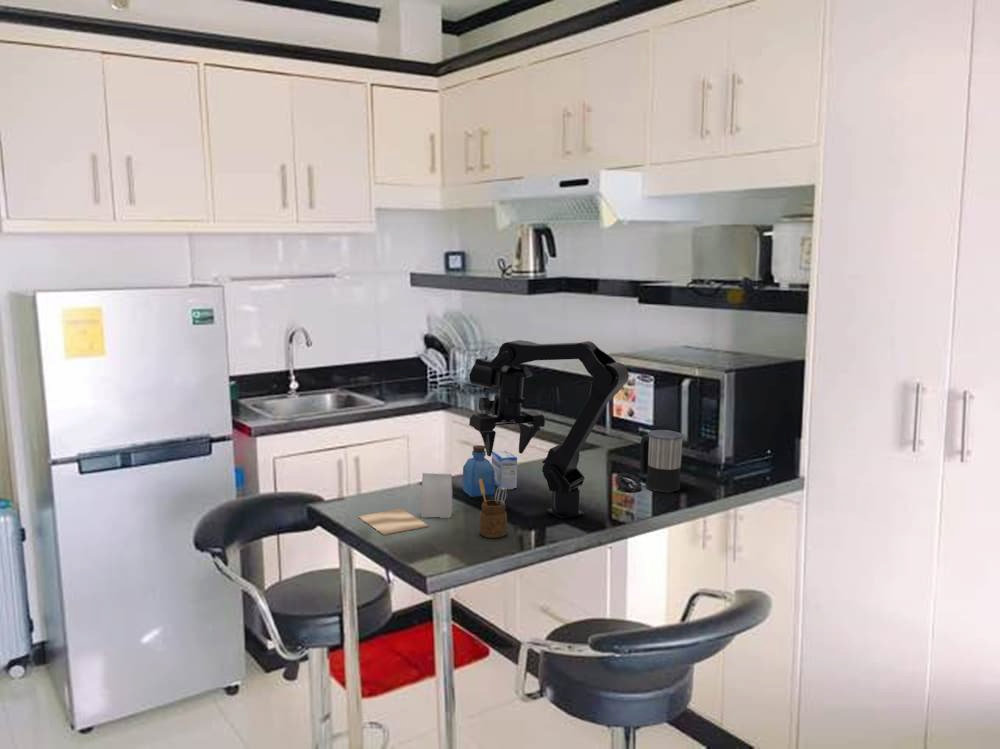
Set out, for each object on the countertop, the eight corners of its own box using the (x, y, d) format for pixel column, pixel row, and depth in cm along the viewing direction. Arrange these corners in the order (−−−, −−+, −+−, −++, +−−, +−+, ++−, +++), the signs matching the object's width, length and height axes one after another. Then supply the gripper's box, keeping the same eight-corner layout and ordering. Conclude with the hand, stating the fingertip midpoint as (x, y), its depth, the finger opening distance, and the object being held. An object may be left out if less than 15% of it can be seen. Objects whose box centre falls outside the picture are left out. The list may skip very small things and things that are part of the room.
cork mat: (428, 527, 183) (428, 525, 183) (383, 535, 177) (383, 534, 177) (401, 509, 194) (401, 508, 194) (358, 517, 189) (358, 516, 189)
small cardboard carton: (450, 518, 189) (450, 476, 188) (421, 517, 190) (421, 475, 188) (452, 513, 193) (452, 472, 191) (423, 512, 193) (423, 471, 192)
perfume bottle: (471, 496, 206) (472, 450, 204) (462, 490, 212) (463, 445, 210) (494, 494, 208) (495, 448, 207) (484, 487, 214) (485, 443, 212)
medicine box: (490, 482, 219) (491, 450, 218) (506, 480, 221) (506, 449, 220) (501, 490, 212) (501, 457, 211) (517, 489, 214) (517, 456, 212)
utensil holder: (500, 540, 175) (501, 486, 174) (474, 536, 178) (474, 482, 176) (510, 531, 181) (511, 479, 179) (484, 527, 183) (485, 475, 181)
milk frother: (688, 488, 216) (690, 434, 214) (653, 500, 206) (655, 442, 203) (643, 477, 227) (646, 425, 224) (608, 488, 216) (610, 433, 213)
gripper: (524, 384, 209) (518, 442, 212) (460, 386, 199) (455, 448, 202) (549, 393, 200) (543, 455, 203) (484, 397, 190) (478, 461, 193)
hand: (504, 454), depth 200 cm, fingers open, 9 cm apart
